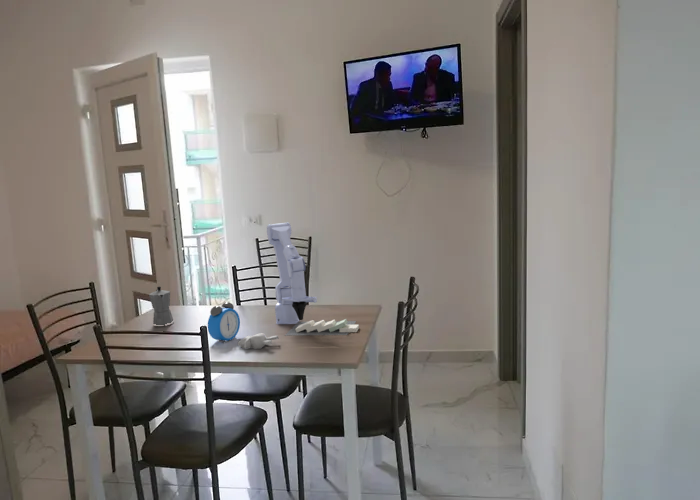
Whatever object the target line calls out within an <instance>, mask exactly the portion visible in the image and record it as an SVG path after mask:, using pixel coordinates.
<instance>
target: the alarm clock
mask: <svg viewBox="0 0 700 500" xmlns="http://www.w3.org/2000/svg"><path fill="white" fill-rule="evenodd" d="M209 314H210V315H209V317H208V320H207V331H208V334H209V335H210V337H211V338H212V339H214V340H216V341H223V343H224V342H229V340H230V341H232V340H233V339H235V337H236V336H237V335H238V333H239V330H240V328H241V327H240V326H241V320H240V315H239V313H238V312H237V310H236V309H235V307H234V304H233V303H232V302H230V301H227V302H223V303H222V304H221V306H220V305H215V306H213V307H212V308H211V309H210V311H209Z"/></svg>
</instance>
